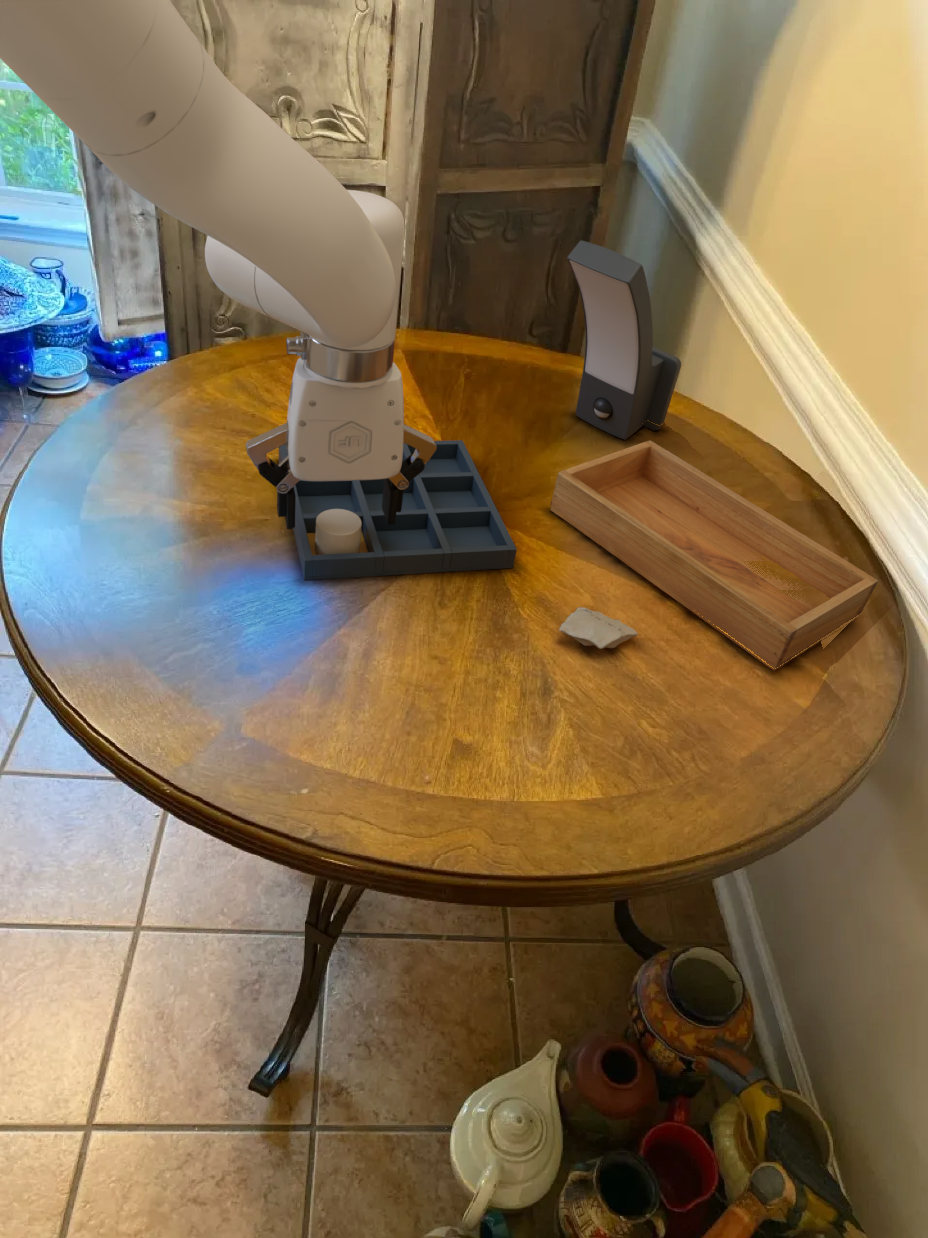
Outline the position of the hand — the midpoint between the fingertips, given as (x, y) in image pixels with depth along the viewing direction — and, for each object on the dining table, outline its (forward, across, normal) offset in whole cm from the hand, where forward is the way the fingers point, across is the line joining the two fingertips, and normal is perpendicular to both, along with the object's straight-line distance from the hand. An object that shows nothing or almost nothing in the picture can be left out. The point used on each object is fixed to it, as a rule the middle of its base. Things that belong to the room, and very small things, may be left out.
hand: (339, 518), depth 88 cm
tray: (+4, +38, -5) cm, 38 cm away
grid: (+4, +7, +7) cm, 11 cm away
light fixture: (+4, +37, +23) cm, 44 cm away
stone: (+4, +22, -15) cm, 27 cm away
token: (+4, 0, 0) cm, 4 cm away
